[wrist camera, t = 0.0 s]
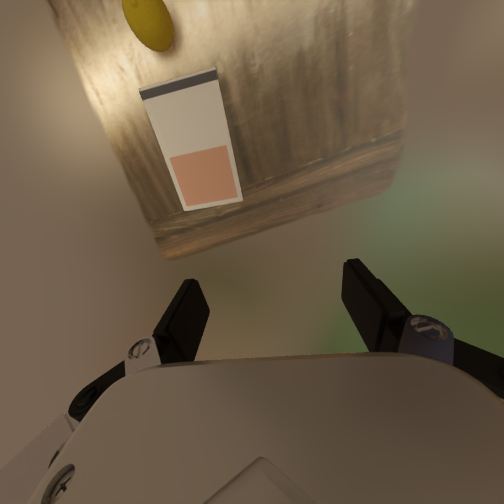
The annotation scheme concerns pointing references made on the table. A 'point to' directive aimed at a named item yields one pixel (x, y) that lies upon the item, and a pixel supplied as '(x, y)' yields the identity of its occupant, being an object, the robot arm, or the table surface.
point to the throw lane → (194, 138)
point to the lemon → (150, 22)
